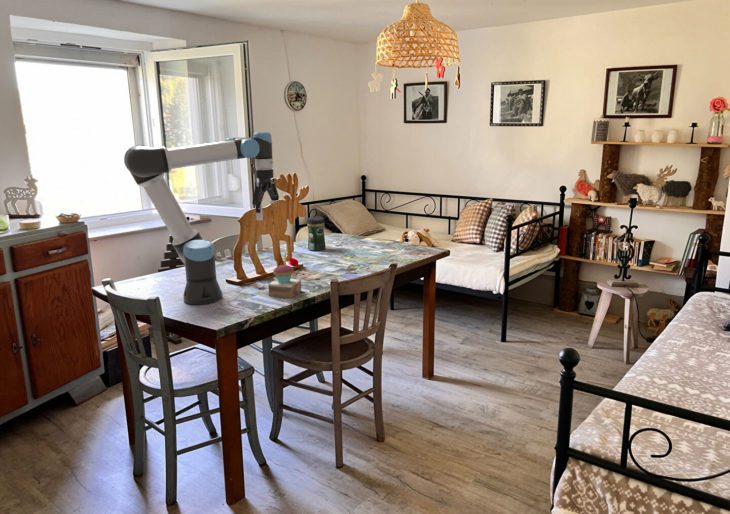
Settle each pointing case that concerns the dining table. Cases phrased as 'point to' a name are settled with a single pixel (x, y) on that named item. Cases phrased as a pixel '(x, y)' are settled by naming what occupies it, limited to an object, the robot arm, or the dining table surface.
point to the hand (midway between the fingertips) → (267, 217)
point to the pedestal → (285, 288)
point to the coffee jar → (316, 233)
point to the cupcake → (283, 272)
